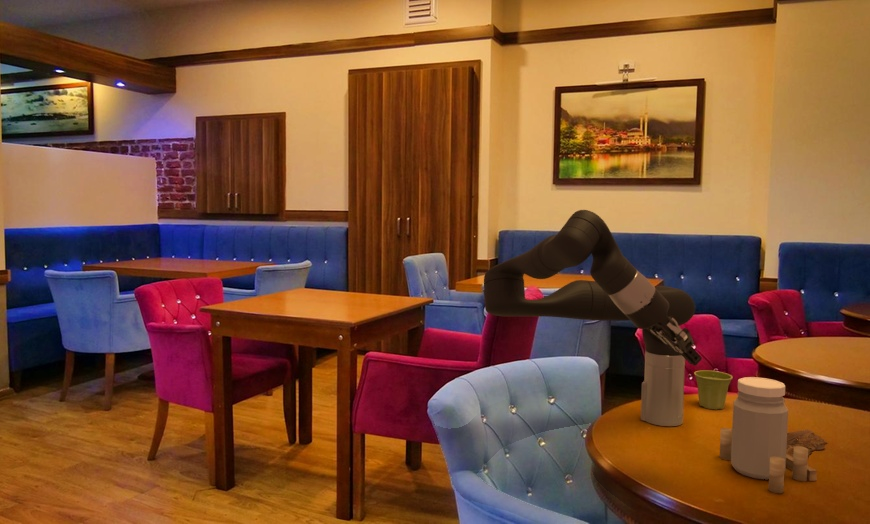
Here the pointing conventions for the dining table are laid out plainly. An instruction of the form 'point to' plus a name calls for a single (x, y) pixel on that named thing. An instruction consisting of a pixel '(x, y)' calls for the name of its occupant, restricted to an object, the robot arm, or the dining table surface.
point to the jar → (758, 426)
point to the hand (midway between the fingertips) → (696, 361)
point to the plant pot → (712, 388)
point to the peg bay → (776, 463)
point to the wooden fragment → (804, 441)
